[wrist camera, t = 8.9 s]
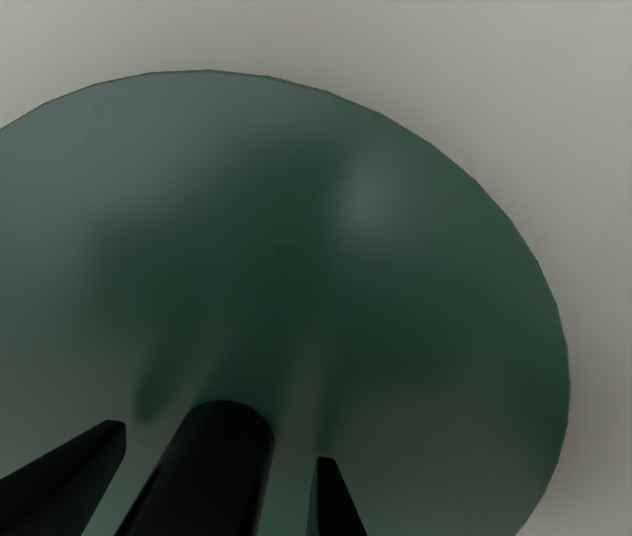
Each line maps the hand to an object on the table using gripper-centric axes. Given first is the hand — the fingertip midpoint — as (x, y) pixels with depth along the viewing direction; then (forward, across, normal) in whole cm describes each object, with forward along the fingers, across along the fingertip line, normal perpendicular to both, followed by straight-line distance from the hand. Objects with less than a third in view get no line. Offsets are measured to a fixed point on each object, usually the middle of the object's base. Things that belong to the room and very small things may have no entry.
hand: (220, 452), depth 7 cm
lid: (+1, 0, 0) cm, 1 cm away
